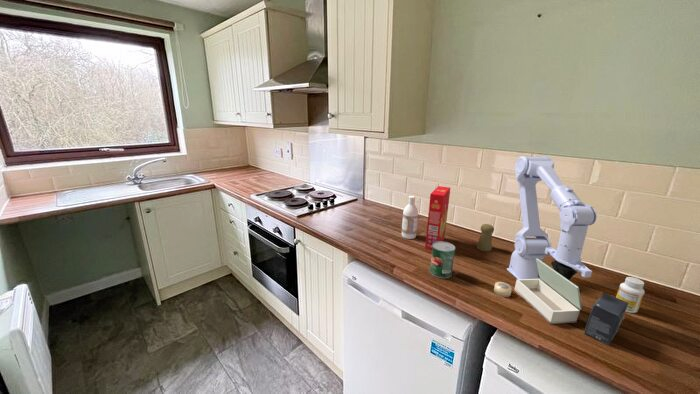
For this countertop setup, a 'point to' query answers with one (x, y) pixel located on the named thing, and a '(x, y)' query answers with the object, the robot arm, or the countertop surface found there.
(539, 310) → the keepsake box
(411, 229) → the bath foam
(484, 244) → the olive pepper mill
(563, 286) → the lid
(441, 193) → the food packaging
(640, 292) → the supplement bottle
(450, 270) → the canned tomato
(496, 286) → the cream domed disc
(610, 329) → the box
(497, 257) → the countertop surface
